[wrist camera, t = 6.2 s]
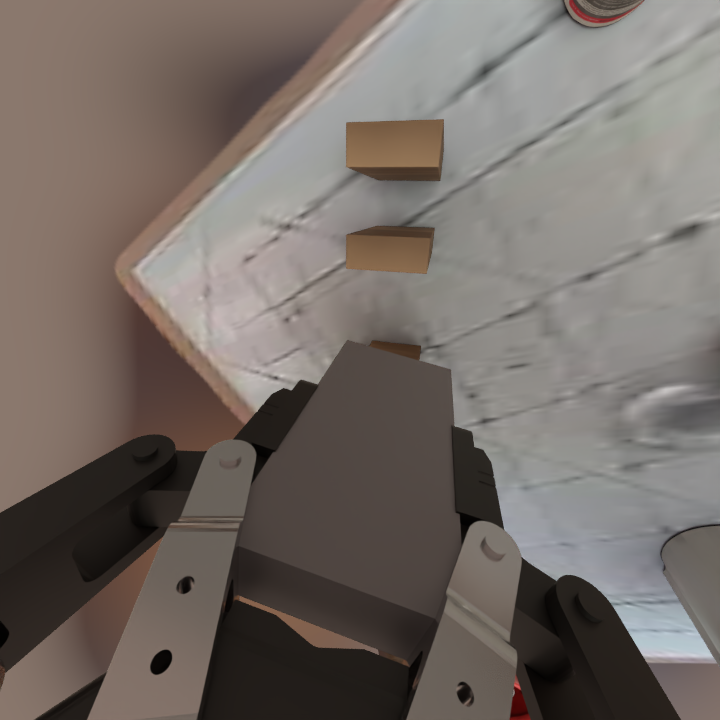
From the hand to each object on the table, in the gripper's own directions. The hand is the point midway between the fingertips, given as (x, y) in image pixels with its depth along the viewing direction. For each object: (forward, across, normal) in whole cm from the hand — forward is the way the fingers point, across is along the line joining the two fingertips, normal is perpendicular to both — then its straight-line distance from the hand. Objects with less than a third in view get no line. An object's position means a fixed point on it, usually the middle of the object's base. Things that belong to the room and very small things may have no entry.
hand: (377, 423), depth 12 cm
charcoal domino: (+4, 0, 0) cm, 4 cm away
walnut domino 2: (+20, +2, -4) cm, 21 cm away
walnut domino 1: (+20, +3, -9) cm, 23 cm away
